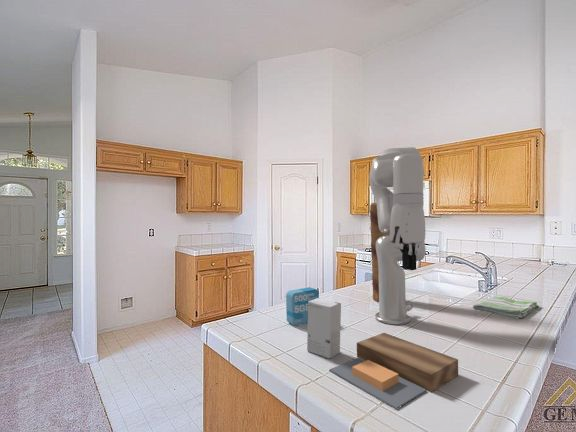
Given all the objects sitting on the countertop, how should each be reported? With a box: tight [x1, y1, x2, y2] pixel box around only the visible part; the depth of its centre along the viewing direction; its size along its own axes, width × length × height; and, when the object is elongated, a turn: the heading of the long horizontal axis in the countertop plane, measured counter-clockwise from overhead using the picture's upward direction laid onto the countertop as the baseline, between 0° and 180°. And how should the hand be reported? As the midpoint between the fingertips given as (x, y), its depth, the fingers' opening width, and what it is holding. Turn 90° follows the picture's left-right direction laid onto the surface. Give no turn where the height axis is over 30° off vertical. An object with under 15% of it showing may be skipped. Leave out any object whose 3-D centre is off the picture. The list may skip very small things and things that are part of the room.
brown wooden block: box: [356, 332, 459, 393], centre depth 82 cm, size 12×22×4 cm, turn 35°
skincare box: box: [306, 297, 342, 359], centre depth 91 cm, size 8×6×15 cm
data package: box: [285, 286, 320, 327], centre depth 117 cm, size 12×4×12 cm, turn 121°
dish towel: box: [472, 296, 539, 320], centre depth 129 cm, size 17×23×4 cm
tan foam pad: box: [352, 360, 399, 391], centre depth 76 cm, size 9×6×2 cm, turn 36°
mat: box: [328, 357, 427, 410], centre depth 75 cm, size 11×20×1 cm, turn 35°
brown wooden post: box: [369, 202, 390, 303], centre depth 144 cm, size 10×11×45 cm
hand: (409, 269), depth 84 cm, fingers closed
